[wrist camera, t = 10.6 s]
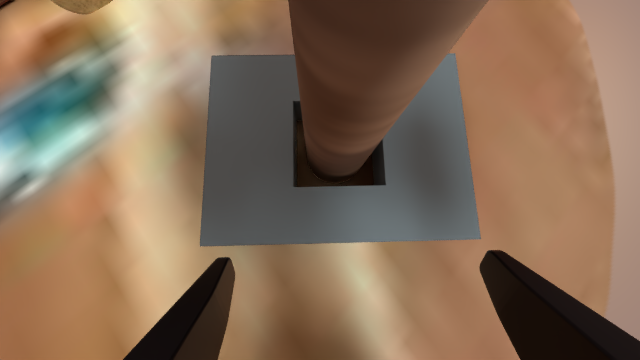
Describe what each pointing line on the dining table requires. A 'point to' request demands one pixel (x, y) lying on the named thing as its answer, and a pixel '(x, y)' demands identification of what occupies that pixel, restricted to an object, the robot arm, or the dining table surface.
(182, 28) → the dining table surface
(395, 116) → the peg
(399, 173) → the socket board
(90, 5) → the gavel
